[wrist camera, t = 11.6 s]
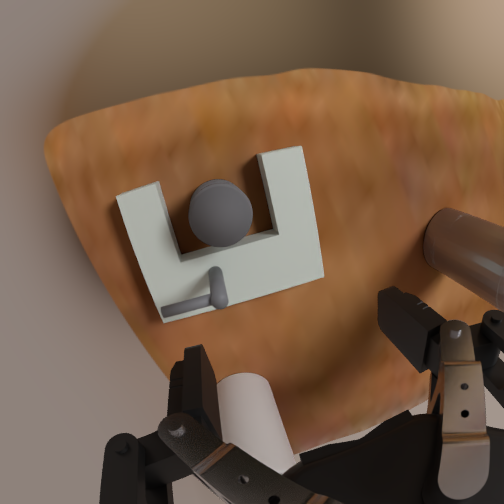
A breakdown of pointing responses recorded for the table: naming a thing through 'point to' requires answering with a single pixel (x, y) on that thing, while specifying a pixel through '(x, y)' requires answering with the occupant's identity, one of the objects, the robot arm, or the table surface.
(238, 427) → the cup
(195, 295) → the board
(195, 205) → the grooved grey cylinder
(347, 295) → the table surface
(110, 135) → the table surface
